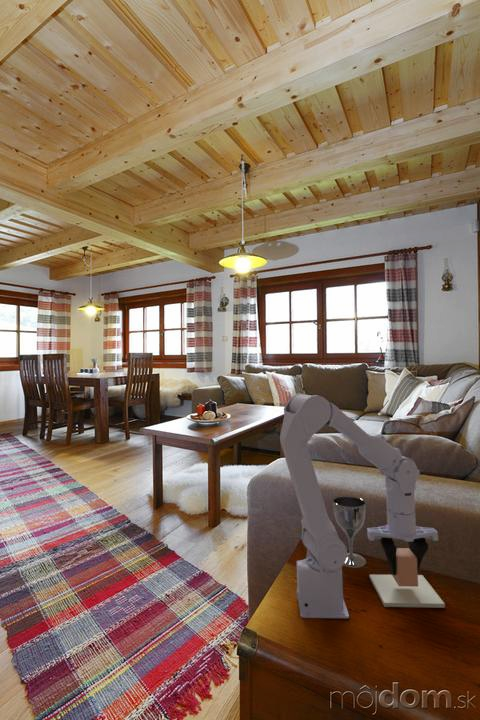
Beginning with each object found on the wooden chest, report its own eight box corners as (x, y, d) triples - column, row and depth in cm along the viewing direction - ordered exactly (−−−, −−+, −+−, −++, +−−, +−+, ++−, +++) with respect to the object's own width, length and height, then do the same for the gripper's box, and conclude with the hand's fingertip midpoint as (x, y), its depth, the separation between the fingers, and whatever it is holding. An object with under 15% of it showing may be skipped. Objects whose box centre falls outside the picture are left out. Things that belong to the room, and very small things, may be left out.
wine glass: (373, 559, 89) (370, 500, 90) (359, 572, 83) (356, 509, 84) (344, 549, 95) (342, 493, 95) (329, 561, 89) (327, 502, 89)
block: (398, 586, 74) (397, 557, 74) (392, 575, 78) (390, 548, 78) (418, 586, 73) (416, 557, 74) (410, 575, 77) (409, 548, 78)
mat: (384, 606, 71) (384, 602, 71) (369, 578, 81) (369, 574, 81) (444, 607, 70) (444, 603, 70) (422, 578, 80) (422, 575, 80)
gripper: (372, 517, 73) (375, 583, 72) (444, 517, 72) (447, 583, 71) (363, 504, 80) (366, 564, 79) (428, 504, 79) (431, 564, 78)
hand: (403, 572), depth 76 cm, fingers closed on block, 4 cm apart
